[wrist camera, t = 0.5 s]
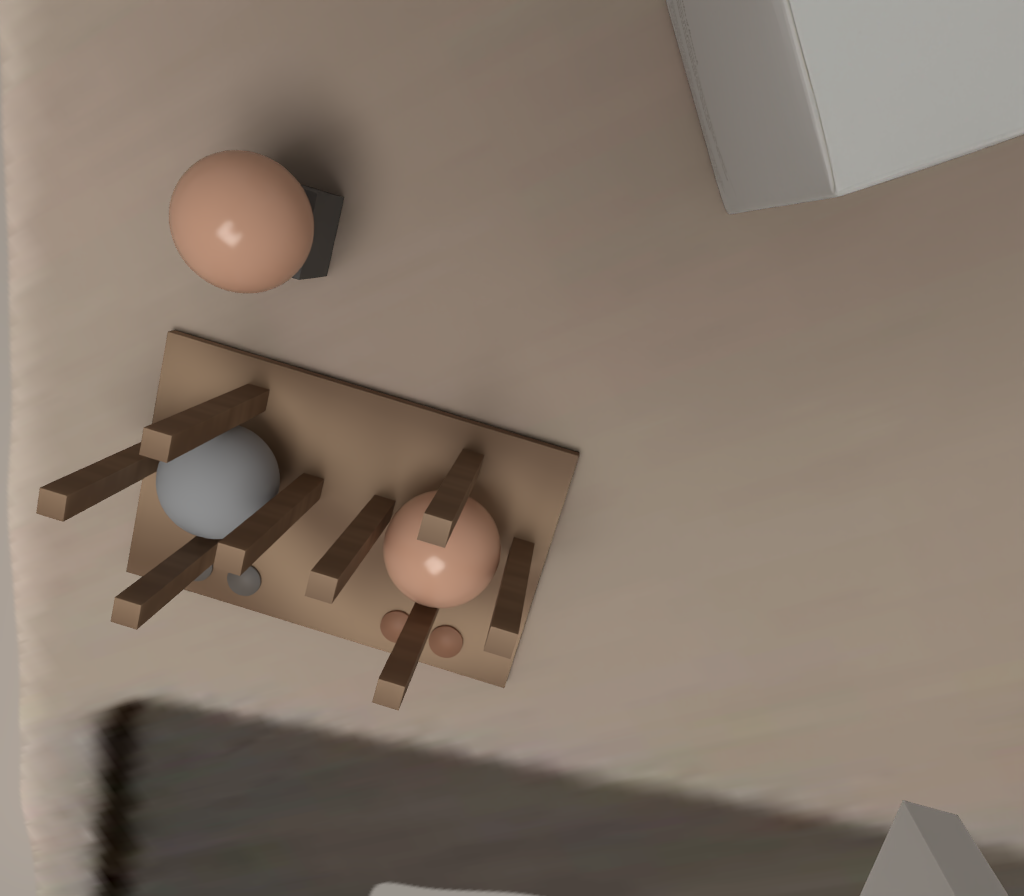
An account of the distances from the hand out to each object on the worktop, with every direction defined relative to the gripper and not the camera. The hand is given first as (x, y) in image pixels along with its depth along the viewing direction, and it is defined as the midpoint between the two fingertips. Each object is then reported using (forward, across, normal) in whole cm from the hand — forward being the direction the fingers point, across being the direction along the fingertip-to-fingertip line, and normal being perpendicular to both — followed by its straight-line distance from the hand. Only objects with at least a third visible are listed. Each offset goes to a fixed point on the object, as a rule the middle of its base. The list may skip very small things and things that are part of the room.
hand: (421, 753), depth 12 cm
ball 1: (+25, -12, -6) cm, 28 cm away
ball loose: (+20, -12, +5) cm, 24 cm away
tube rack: (+25, -7, -8) cm, 27 cm away
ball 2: (+25, -2, -7) cm, 26 cm away
